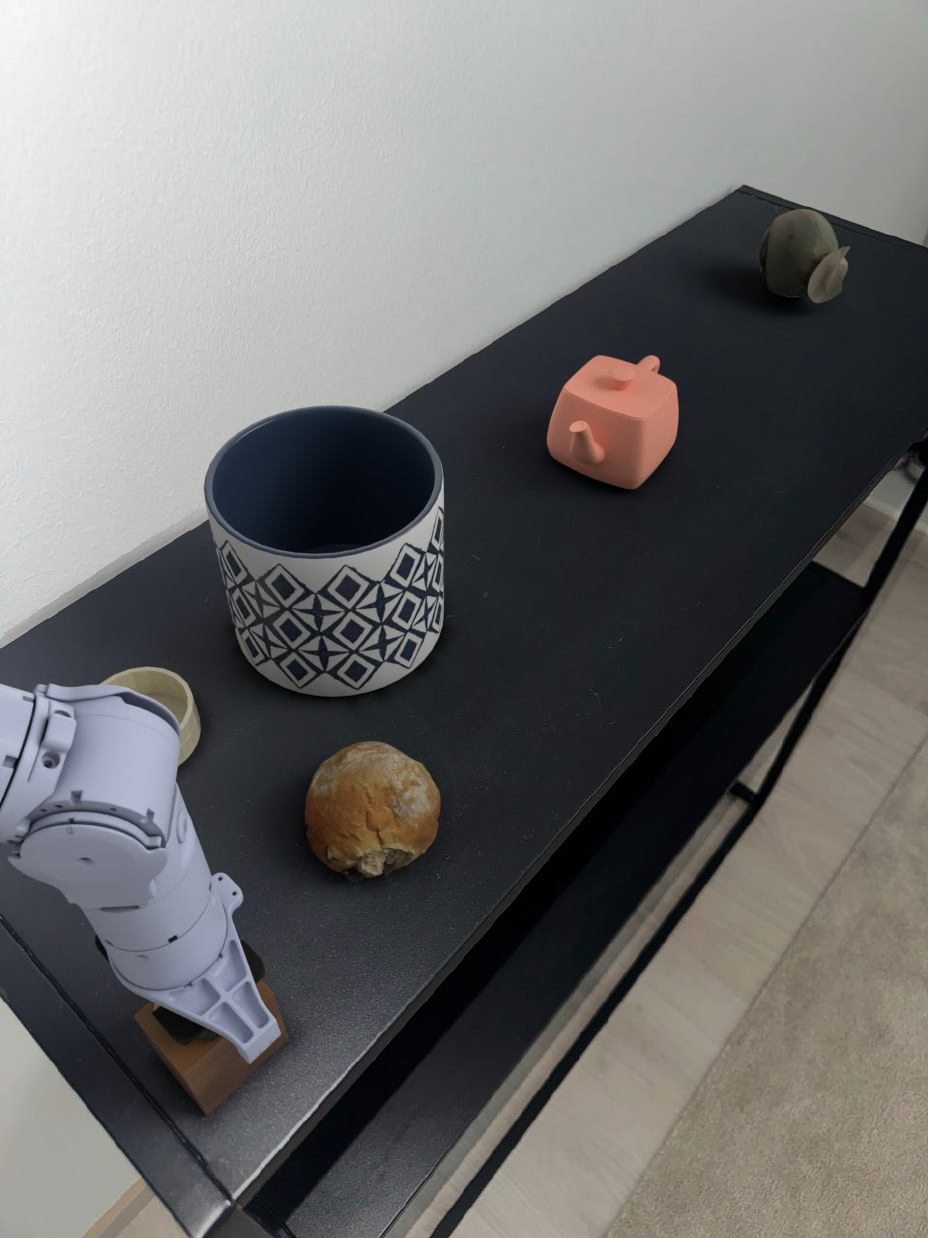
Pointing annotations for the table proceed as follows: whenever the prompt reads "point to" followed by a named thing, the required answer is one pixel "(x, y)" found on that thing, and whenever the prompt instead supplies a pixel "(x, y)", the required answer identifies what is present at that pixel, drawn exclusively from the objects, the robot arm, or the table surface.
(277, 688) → the table surface
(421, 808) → the bread roll
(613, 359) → the teapot
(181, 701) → the bowl
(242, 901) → the robot arm
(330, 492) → the planter
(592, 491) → the table surface
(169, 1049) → the block
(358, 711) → the table surface
